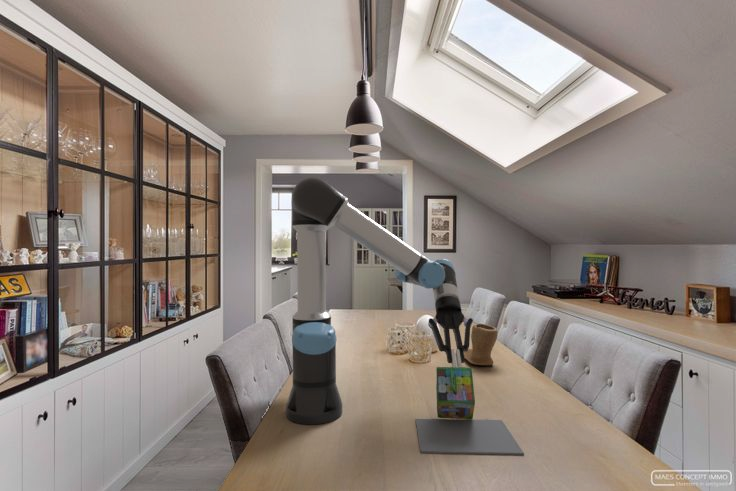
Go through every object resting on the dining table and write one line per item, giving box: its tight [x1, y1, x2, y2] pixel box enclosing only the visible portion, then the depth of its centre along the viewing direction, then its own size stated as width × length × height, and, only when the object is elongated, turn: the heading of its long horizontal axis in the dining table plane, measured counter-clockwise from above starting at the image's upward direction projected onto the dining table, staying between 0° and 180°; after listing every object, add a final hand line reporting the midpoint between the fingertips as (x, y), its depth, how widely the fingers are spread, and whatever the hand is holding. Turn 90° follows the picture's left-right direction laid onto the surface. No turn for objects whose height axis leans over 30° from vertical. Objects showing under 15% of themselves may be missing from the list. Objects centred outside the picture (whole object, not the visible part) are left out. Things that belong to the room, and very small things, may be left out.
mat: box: [415, 418, 525, 456], centre depth 96 cm, size 22×17×1 cm
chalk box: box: [435, 366, 476, 420], centre depth 103 cm, size 9×9×15 cm
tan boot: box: [464, 322, 498, 366], centre depth 160 cm, size 15×12×15 cm
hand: (457, 373), depth 108 cm, fingers closed
